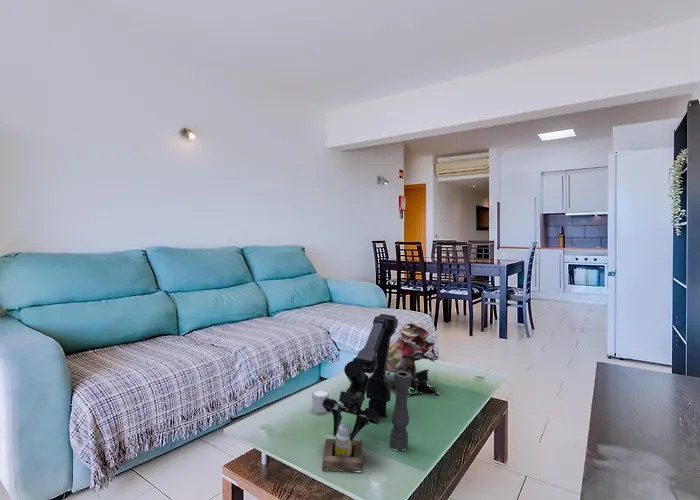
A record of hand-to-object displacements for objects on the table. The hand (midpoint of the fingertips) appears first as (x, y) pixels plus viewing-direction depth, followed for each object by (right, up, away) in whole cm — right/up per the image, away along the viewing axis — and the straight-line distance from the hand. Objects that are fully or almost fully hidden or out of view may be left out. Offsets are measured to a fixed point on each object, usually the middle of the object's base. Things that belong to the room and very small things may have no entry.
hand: (342, 438), depth 120 cm
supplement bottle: (0, -7, +2) cm, 7 cm away
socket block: (0, -8, +2) cm, 8 cm away
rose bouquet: (+29, -6, +62) cm, 68 cm away
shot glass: (-10, -5, +33) cm, 35 cm away
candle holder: (+19, -8, +11) cm, 23 cm away
